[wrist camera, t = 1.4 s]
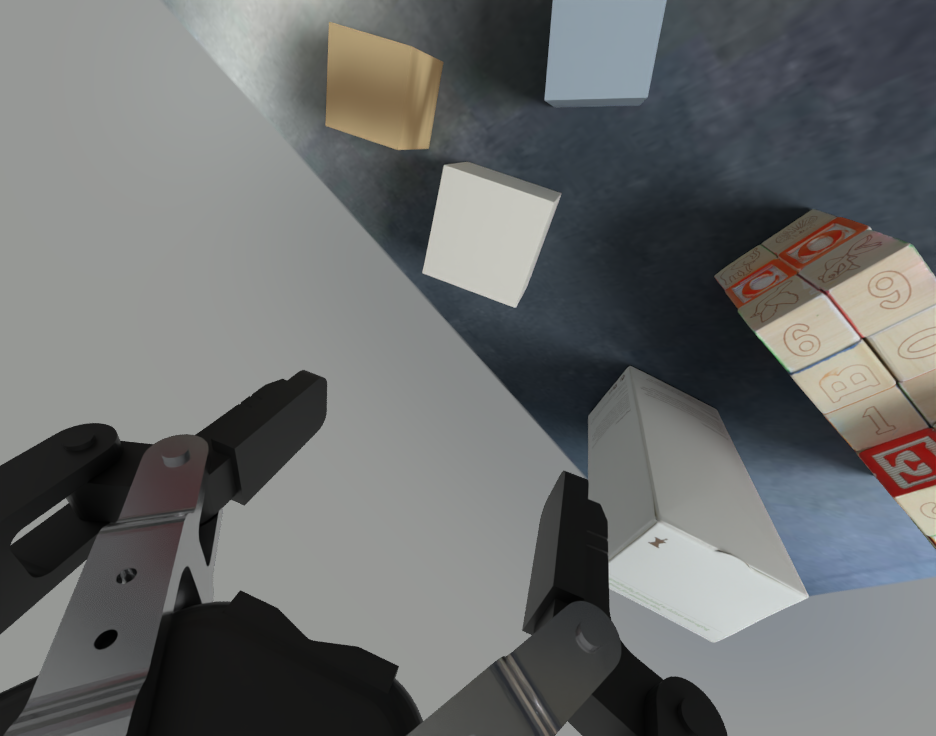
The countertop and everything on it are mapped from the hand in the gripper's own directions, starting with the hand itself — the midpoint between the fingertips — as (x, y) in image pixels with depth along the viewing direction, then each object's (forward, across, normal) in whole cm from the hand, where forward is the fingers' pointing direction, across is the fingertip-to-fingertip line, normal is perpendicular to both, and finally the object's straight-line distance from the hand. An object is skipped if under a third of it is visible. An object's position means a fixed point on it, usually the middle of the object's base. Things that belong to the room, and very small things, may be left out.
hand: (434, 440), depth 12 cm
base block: (+21, +3, -2) cm, 21 cm away
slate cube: (+21, 0, -13) cm, 24 cm away
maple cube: (+21, +12, -8) cm, 25 cm away
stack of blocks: (+21, -22, -1) cm, 31 cm away
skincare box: (+21, -13, +8) cm, 26 cm away
